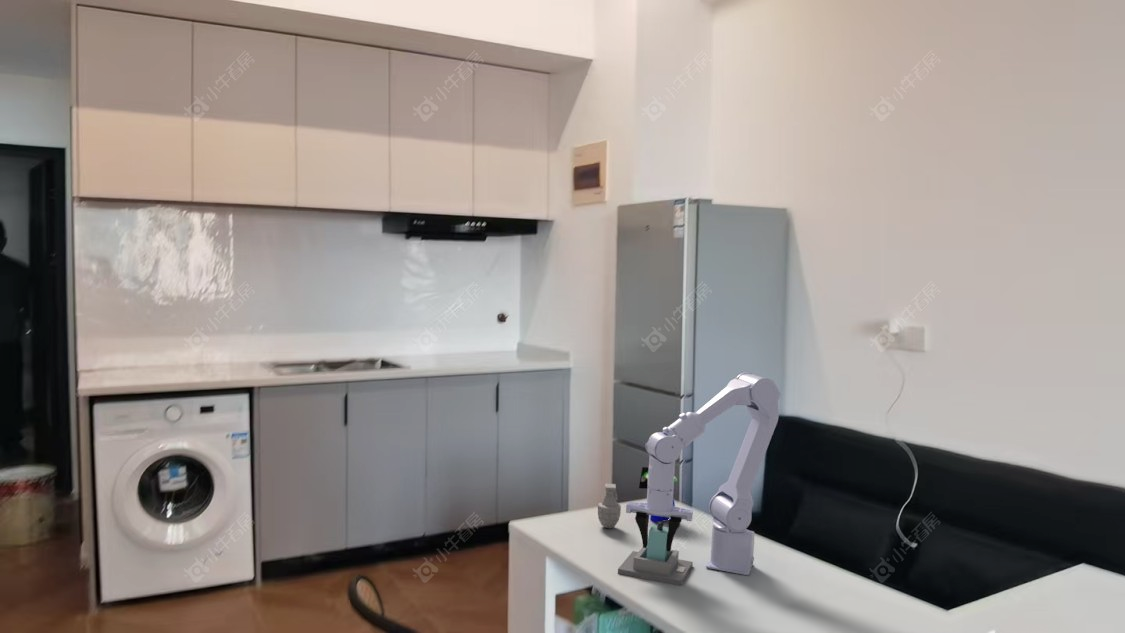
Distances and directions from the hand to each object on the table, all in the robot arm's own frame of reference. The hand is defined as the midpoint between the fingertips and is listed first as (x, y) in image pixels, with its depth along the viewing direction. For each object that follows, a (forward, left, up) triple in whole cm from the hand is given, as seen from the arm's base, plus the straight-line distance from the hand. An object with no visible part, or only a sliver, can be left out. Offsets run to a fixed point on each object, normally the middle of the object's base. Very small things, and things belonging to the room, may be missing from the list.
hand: (657, 548), depth 172 cm
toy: (+8, -35, -5) cm, 36 cm away
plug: (0, 0, -4) cm, 4 cm away
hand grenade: (+18, -22, -5) cm, 29 cm away
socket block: (0, 0, -5) cm, 5 cm away
